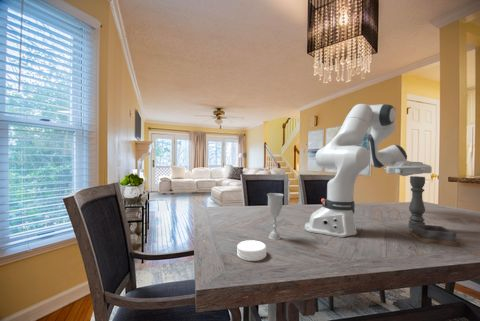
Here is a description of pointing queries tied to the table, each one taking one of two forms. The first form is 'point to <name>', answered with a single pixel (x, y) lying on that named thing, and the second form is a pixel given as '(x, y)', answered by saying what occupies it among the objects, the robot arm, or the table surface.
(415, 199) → the candle holder
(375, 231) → the table surface
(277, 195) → the chalice
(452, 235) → the socket base
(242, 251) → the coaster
